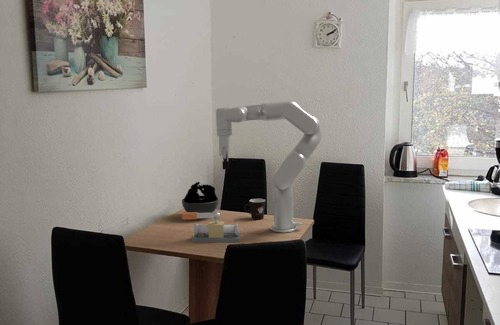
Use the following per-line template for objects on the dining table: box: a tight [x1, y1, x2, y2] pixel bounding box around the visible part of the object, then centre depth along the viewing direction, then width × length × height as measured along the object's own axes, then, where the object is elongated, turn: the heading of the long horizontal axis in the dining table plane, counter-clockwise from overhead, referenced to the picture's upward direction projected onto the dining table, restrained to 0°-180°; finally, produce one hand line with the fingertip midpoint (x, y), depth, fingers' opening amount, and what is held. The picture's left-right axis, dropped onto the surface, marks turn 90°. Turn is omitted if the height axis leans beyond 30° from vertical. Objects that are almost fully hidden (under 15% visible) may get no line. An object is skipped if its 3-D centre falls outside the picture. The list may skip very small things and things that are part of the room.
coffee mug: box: [243, 198, 266, 221], centre depth 290 cm, size 12×9×10 cm
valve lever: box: [181, 211, 221, 220], centre depth 252 cm, size 3×18×3 cm, turn 91°
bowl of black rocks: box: [181, 181, 219, 213], centre depth 294 cm, size 20×20×19 cm
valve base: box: [191, 218, 242, 243], centre depth 253 cm, size 22×10×10 cm, turn 88°
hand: (226, 169), depth 268 cm, fingers closed
